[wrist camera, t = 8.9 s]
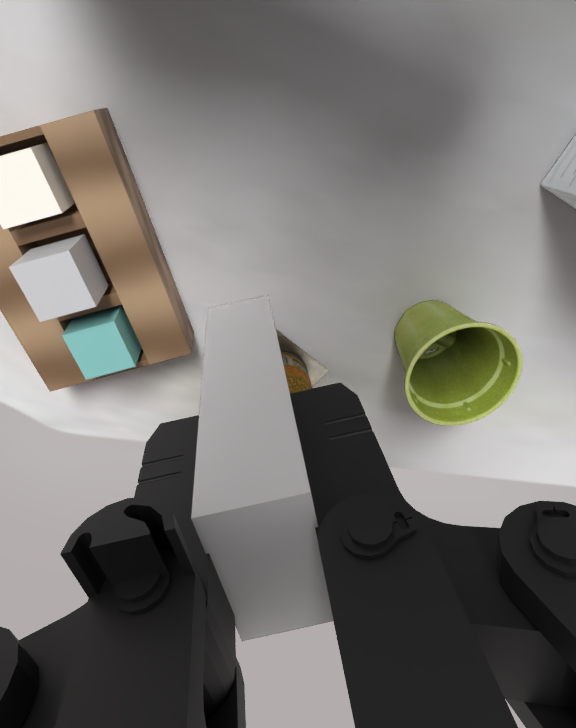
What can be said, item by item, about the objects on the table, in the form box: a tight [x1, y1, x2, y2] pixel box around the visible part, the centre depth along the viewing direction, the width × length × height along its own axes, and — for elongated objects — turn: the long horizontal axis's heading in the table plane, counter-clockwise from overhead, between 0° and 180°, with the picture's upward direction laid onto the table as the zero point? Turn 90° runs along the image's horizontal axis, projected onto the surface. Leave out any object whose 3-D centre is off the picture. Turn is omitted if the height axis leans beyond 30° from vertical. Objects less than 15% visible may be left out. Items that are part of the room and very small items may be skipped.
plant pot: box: [395, 300, 523, 426], centre depth 41 cm, size 9×9×9 cm
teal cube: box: [62, 305, 142, 380], centre depth 38 cm, size 4×4×4 cm
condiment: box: [276, 330, 328, 393], centre depth 40 cm, size 7×8×12 cm
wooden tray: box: [0, 108, 194, 391], centre depth 36 cm, size 18×12×4 cm, turn 14°
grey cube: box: [9, 234, 109, 322], centre depth 33 cm, size 4×4×4 cm
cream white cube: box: [0, 142, 75, 229], centre depth 32 cm, size 4×4×4 cm
